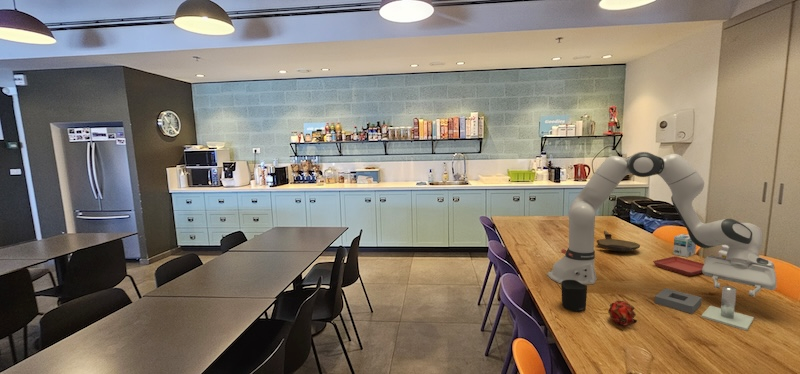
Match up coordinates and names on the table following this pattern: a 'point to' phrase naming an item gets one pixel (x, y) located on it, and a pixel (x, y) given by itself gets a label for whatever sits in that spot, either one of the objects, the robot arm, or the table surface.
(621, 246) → the frying pan
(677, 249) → the light bulb box
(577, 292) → the pen holder
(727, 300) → the peg
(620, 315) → the dragon fruit
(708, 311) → the pad
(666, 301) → the square socket
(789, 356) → the table surface
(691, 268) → the plant saucer
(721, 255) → the supplement bottle
